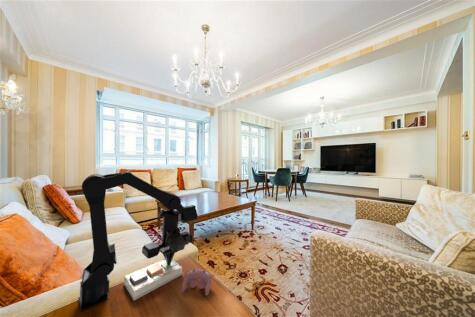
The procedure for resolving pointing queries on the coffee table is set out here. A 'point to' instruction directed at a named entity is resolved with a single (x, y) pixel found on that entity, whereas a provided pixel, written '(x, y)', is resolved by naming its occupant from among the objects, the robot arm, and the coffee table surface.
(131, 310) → the coffee table surface
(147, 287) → the pad
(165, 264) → the sage key
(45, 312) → the coffee table surface
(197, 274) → the video game controller
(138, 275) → the charcoal key
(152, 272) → the terracotta key
